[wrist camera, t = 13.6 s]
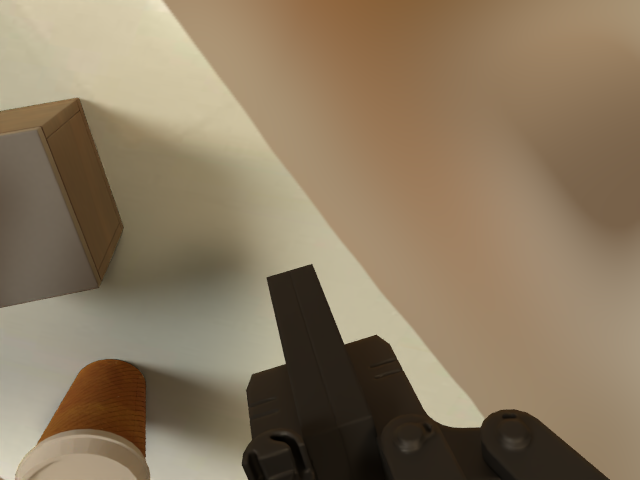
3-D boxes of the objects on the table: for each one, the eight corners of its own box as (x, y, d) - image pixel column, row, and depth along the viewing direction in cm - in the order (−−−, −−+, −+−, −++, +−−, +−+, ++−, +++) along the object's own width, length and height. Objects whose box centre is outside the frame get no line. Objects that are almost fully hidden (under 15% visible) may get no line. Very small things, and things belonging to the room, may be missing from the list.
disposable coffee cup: (181, 366, 50) (170, 470, 39) (136, 435, 52) (114, 551, 42) (82, 329, 46) (39, 431, 35) (39, 405, 49) (-12, 522, 38)
